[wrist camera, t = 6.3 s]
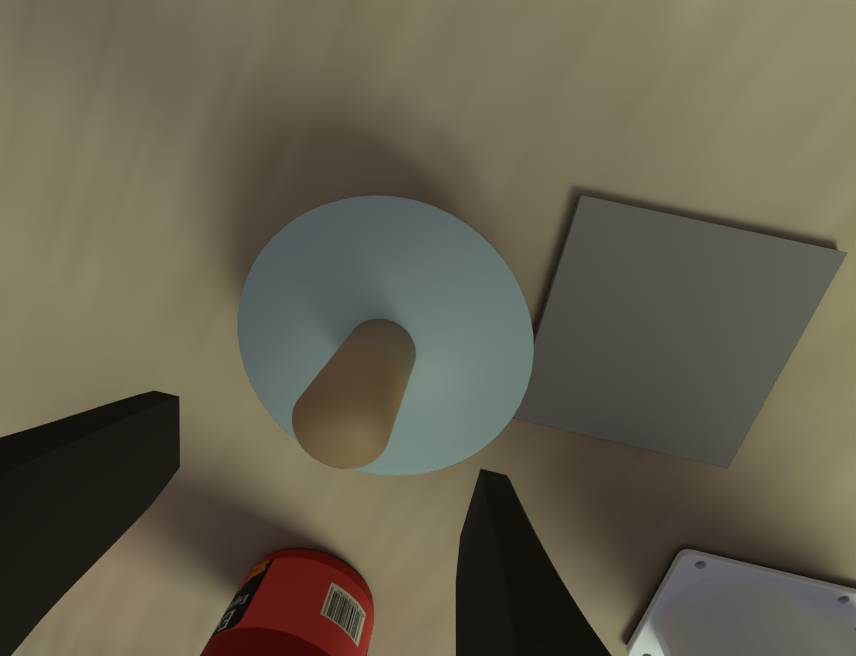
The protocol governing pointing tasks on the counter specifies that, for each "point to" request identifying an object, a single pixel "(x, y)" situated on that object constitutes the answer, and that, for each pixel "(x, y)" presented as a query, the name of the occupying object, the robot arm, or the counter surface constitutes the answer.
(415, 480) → the counter surface
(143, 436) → the robot arm
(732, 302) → the mat
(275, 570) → the canned food
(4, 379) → the counter surface
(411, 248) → the lid
